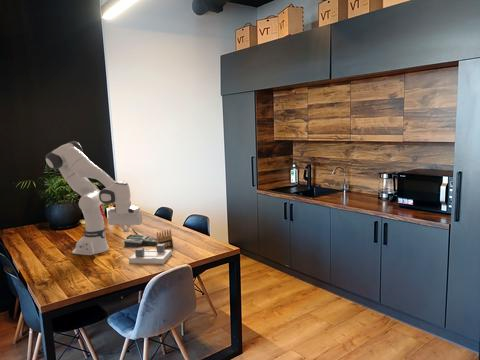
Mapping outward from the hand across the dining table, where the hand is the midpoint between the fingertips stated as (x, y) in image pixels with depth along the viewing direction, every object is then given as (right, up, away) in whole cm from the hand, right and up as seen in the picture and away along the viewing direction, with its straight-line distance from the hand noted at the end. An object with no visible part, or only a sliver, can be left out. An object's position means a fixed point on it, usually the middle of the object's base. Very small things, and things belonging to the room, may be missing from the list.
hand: (126, 231), depth 220 cm
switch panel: (+14, -17, +5) cm, 22 cm away
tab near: (+8, -14, +1) cm, 16 cm away
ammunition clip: (+18, -14, +23) cm, 32 cm away
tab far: (+19, -13, +7) cm, 24 cm away
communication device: (+2, -13, +33) cm, 36 cm away
